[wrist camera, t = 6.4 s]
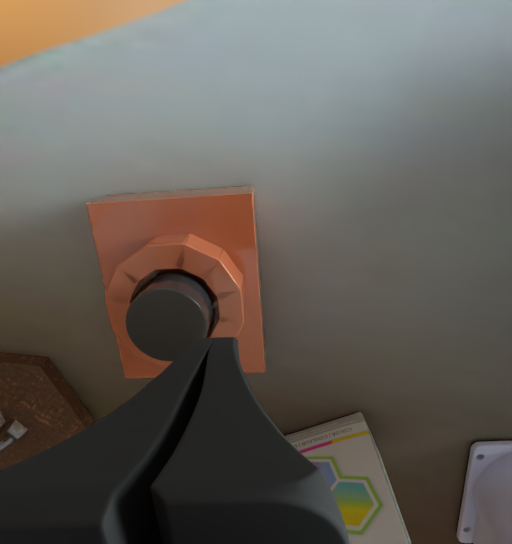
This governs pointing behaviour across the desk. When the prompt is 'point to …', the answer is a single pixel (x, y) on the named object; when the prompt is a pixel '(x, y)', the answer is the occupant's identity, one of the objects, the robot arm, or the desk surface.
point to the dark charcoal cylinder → (169, 315)
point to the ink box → (355, 478)
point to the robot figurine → (35, 408)
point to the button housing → (183, 262)
